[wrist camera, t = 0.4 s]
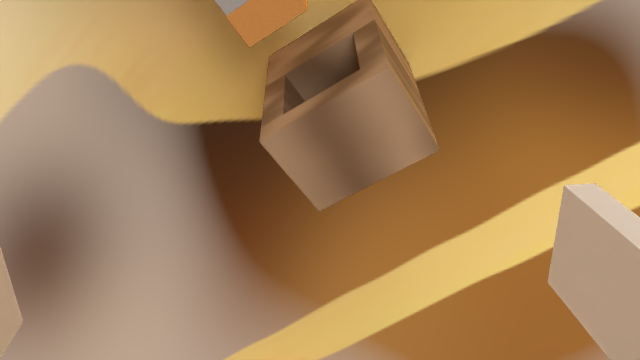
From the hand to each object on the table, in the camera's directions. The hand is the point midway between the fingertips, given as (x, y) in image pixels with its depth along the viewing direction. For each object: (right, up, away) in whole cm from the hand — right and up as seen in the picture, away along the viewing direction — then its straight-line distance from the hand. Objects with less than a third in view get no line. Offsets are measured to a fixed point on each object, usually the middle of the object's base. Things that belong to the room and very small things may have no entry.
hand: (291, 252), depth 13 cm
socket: (+2, +10, +26) cm, 28 cm away
